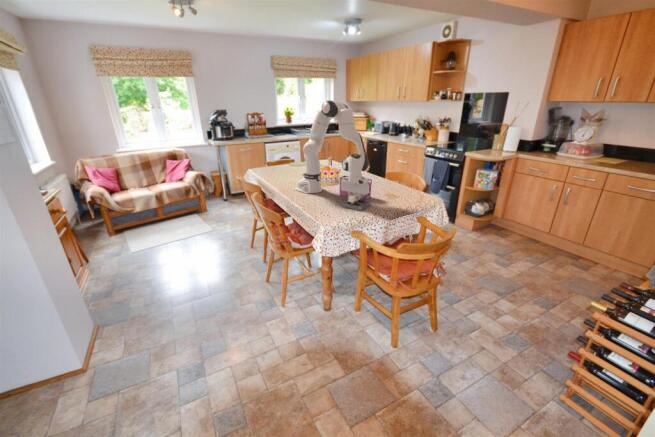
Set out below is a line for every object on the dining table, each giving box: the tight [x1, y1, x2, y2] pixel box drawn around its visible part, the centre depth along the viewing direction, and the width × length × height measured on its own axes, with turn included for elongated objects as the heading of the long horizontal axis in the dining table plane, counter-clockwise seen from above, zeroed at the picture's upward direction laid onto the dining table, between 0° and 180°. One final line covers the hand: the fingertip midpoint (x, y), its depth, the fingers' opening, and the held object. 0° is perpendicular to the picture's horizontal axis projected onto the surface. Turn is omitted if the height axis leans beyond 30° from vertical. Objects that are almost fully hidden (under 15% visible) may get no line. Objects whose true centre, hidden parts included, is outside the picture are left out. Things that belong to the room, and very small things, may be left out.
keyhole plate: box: [342, 199, 372, 212], centre depth 203 cm, size 14×14×2 cm
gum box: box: [339, 175, 373, 201], centre depth 220 cm, size 24×8×14 cm, turn 60°
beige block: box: [347, 193, 361, 205], centre depth 203 cm, size 4×11×6 cm, turn 149°
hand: (354, 198), depth 203 cm, fingers closed on beige block, 4 cm apart
